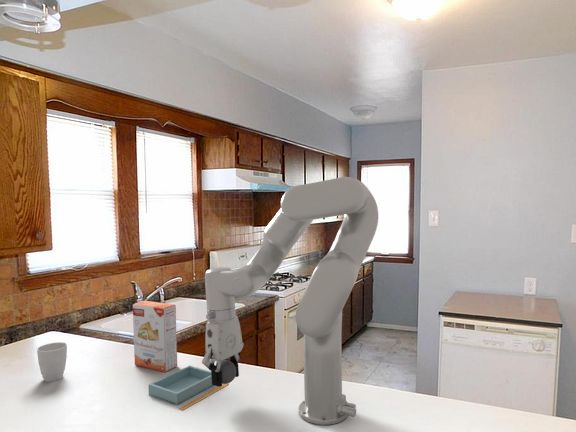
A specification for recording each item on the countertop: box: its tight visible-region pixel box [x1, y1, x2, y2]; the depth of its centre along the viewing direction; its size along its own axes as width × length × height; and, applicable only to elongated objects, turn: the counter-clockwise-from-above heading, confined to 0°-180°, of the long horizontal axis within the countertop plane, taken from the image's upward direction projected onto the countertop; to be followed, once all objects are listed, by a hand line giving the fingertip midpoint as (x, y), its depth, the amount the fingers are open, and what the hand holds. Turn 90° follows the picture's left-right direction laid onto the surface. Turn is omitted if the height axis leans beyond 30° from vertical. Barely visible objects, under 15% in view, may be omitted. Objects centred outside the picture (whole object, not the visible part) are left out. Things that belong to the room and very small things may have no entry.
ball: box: [220, 359, 236, 384], centre depth 112 cm, size 6×6×6 cm
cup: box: [36, 341, 68, 383], centre depth 130 cm, size 8×8×10 cm
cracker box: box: [132, 300, 178, 373], centre depth 138 cm, size 14×6×21 cm, turn 62°
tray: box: [147, 365, 230, 411], centre depth 120 cm, size 15×18×3 cm
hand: (225, 379), depth 112 cm, fingers closed on ball, 5 cm apart
